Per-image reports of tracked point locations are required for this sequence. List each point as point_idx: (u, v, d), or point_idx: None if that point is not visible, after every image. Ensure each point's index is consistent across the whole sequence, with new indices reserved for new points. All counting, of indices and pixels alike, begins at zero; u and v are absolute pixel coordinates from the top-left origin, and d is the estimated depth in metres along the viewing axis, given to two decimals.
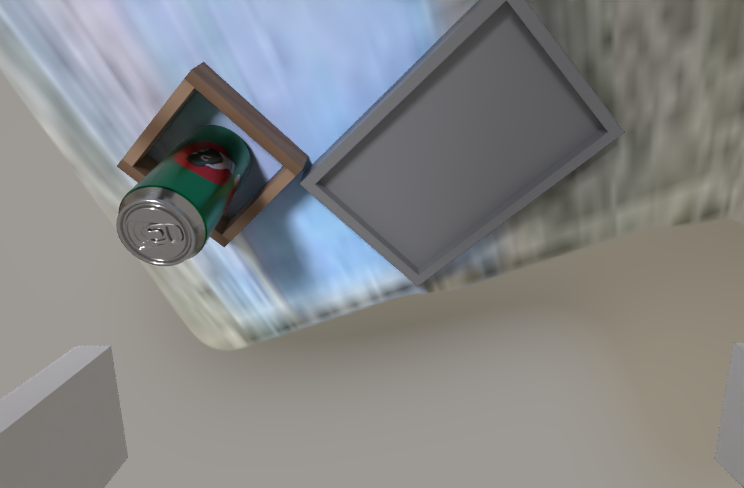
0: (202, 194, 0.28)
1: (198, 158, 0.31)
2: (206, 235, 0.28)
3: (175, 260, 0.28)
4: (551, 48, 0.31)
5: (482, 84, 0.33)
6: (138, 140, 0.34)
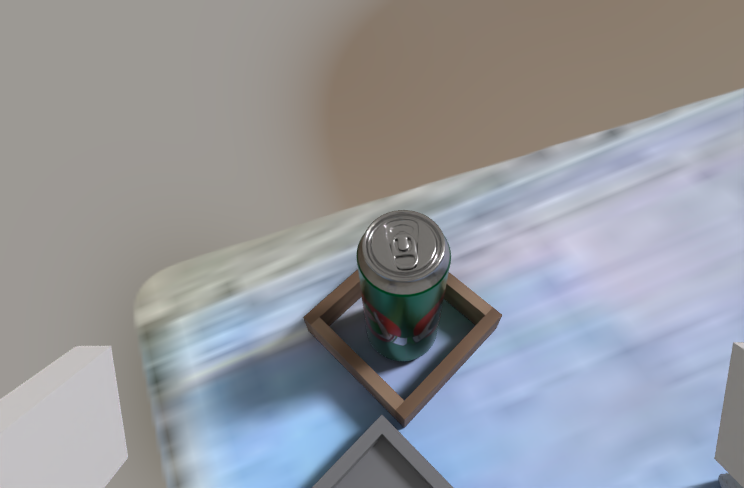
0: (430, 299, 0.26)
1: (441, 304, 0.29)
2: (392, 294, 0.25)
3: (369, 257, 0.25)
4: None
5: None
6: None
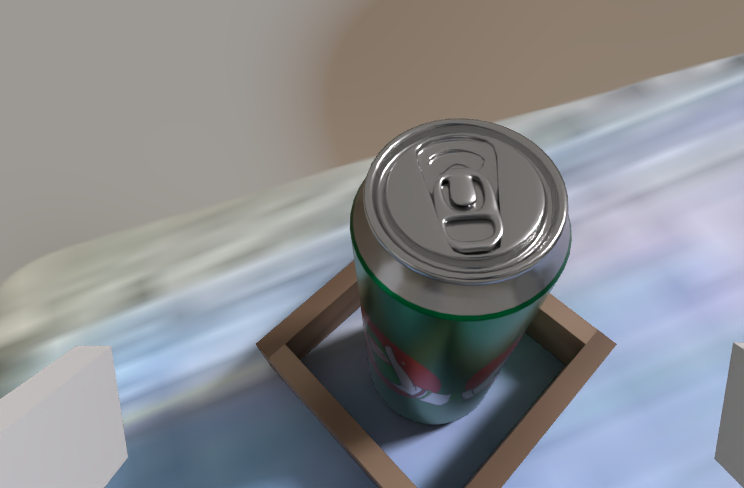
0: (519, 326, 0.11)
1: None
2: (437, 315, 0.10)
3: (379, 221, 0.10)
4: None
5: None
6: None
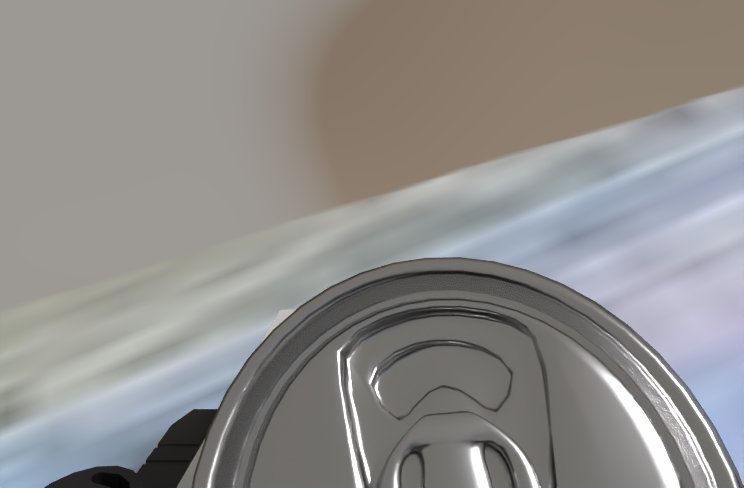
0: None
1: None
2: None
3: None
4: None
5: None
6: None
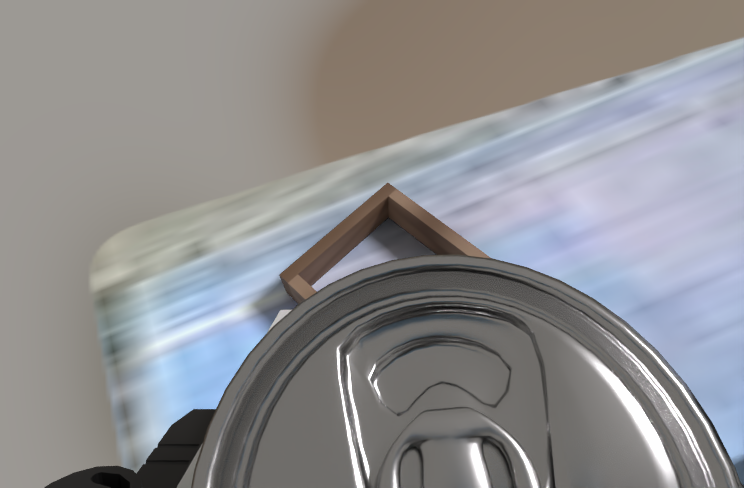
0: None
1: None
2: None
3: None
4: None
5: None
6: (419, 207, 0.32)
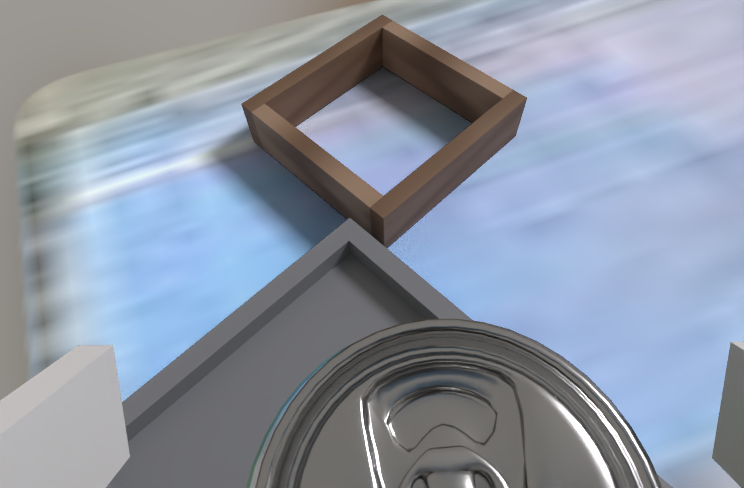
0: None
1: None
2: None
3: None
4: None
5: None
6: (420, 37, 0.26)
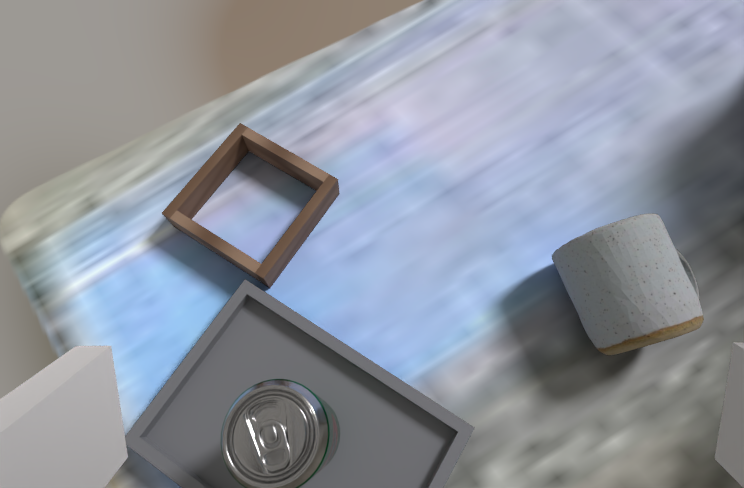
0: None
1: (334, 443, 0.27)
2: None
3: (233, 461, 0.21)
4: None
5: (378, 440, 0.33)
6: (267, 140, 0.39)
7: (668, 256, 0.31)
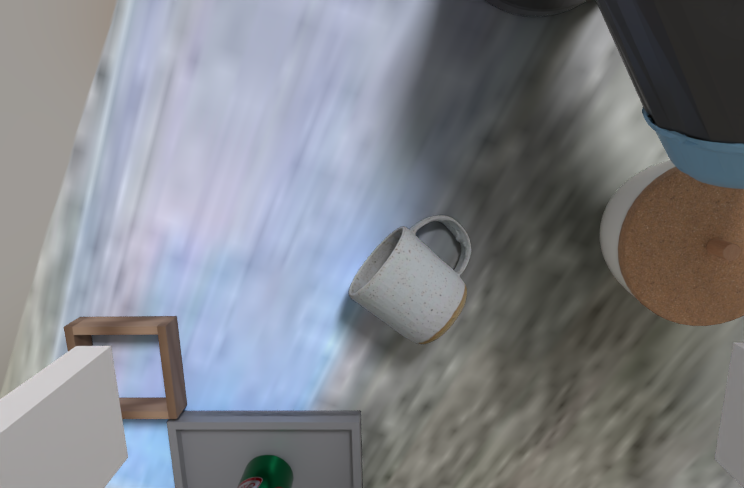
0: None
1: None
2: None
3: None
4: (356, 466, 0.49)
5: (312, 452, 0.50)
6: (94, 327, 0.45)
7: (417, 283, 0.39)
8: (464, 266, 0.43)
